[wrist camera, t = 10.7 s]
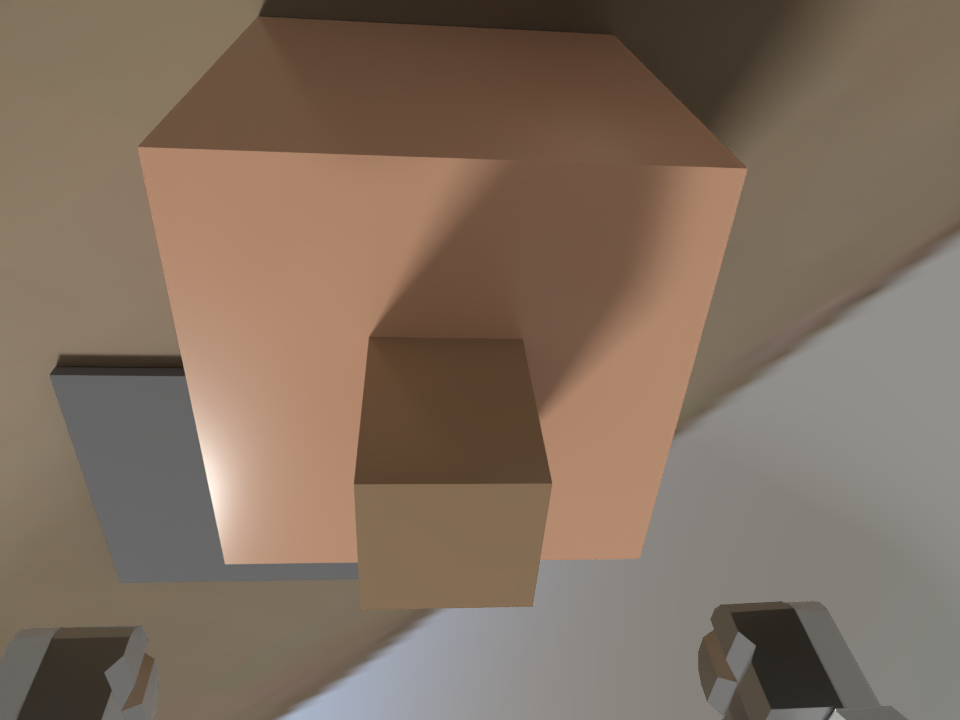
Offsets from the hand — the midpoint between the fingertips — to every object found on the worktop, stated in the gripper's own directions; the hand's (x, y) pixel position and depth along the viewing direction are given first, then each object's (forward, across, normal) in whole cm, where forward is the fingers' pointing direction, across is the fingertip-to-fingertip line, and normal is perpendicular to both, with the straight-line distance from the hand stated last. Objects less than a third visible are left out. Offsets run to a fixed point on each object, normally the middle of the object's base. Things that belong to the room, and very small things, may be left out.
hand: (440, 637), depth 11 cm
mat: (+16, +7, +13) cm, 22 cm away
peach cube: (+16, 0, 0) cm, 16 cm away
